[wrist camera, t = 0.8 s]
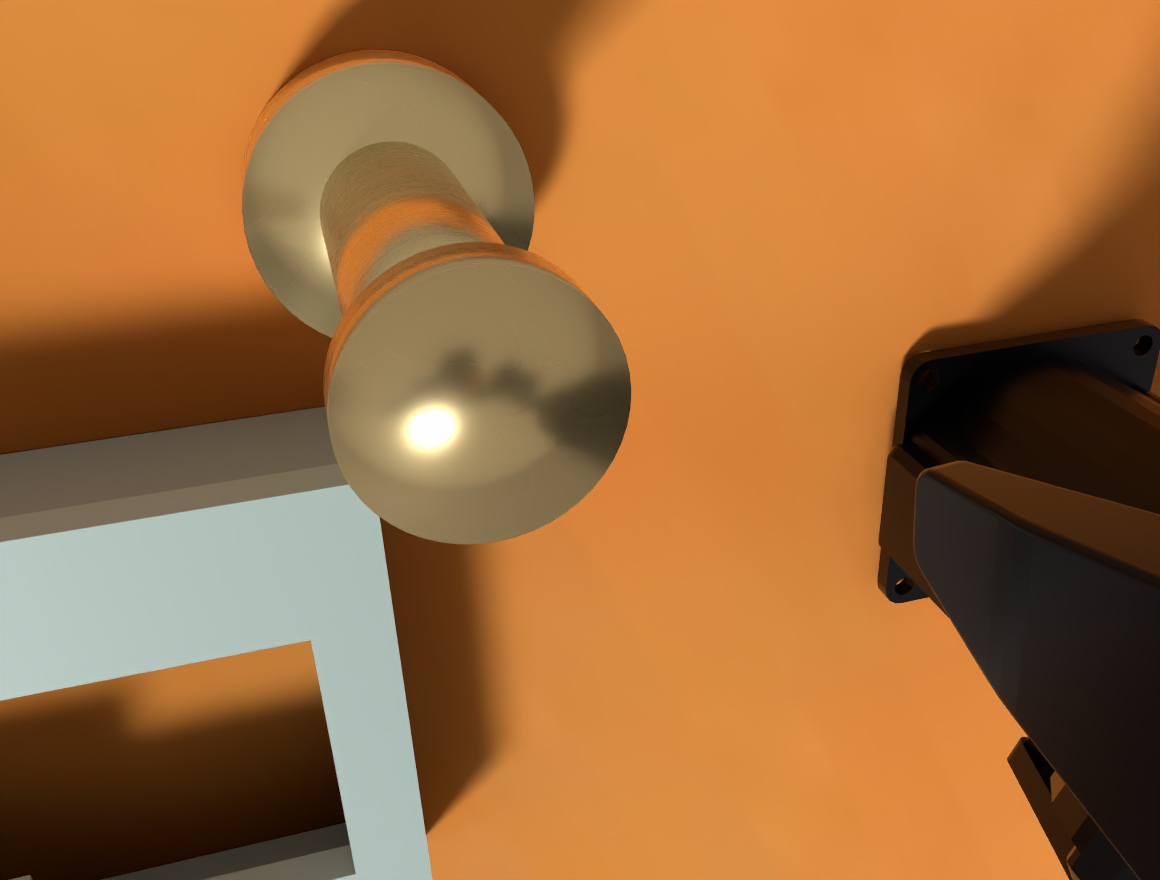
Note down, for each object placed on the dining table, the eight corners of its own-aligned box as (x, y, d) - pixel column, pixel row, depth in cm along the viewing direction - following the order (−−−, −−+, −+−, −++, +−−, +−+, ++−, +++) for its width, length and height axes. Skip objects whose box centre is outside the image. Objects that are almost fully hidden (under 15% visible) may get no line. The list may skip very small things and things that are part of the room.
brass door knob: (504, 38, 19) (704, 158, 11) (522, 300, 21) (697, 562, 13) (217, 61, 18) (199, 213, 10) (267, 334, 20) (288, 641, 12)
